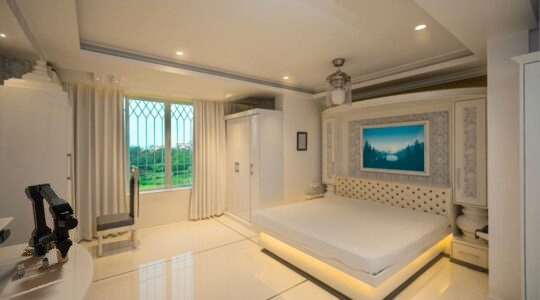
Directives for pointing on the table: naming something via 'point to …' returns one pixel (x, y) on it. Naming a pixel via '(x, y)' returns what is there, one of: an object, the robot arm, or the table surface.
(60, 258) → the orange-tan rounded capsule
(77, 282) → the table surface
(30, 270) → the board
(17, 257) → the table surface
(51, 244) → the alarm clock
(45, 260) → the clamp jaws
